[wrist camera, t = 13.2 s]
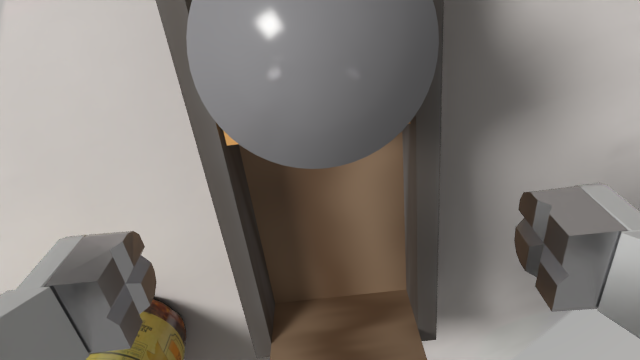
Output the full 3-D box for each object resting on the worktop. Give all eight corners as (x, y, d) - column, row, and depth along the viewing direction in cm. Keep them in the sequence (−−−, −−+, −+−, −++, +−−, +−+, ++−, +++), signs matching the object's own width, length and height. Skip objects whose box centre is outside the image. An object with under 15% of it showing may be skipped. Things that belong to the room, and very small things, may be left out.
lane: (416, -109, 17) (467, -138, 11) (419, 288, 26) (446, 371, 21) (169, -75, 17) (106, -88, 12) (263, 304, 27) (252, 390, 22)
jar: (386, -67, 16) (460, -86, 8) (373, 80, 19) (419, 170, 11) (237, -72, 16) (169, -97, 8) (245, 77, 19) (200, 167, 11)
